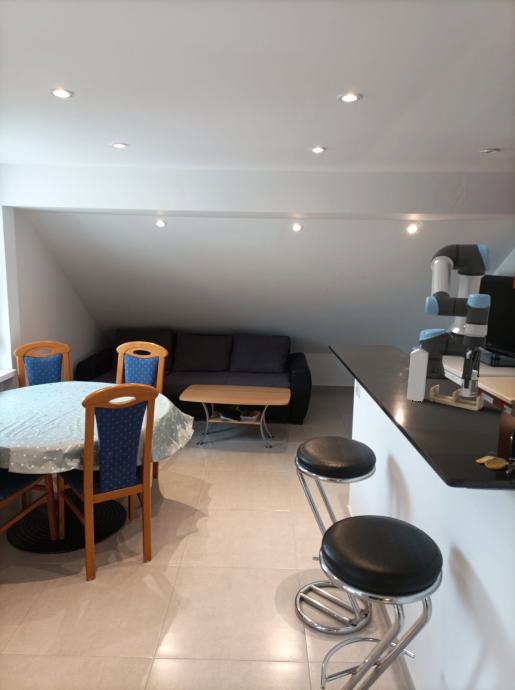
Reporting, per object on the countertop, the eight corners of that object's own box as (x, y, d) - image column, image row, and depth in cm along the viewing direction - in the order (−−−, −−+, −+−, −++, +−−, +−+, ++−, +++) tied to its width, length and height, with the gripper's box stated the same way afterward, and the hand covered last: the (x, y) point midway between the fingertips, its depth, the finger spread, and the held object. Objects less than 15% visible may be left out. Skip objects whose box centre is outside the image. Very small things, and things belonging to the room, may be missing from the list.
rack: (436, 396, 185) (437, 384, 184) (483, 406, 174) (484, 393, 173) (429, 400, 179) (430, 387, 178) (476, 410, 168) (478, 397, 167)
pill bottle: (478, 395, 173) (481, 370, 172) (474, 398, 169) (477, 372, 167) (462, 393, 177) (465, 368, 175) (458, 395, 172) (461, 370, 171)
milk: (406, 400, 179) (410, 345, 176) (408, 396, 185) (413, 343, 181) (422, 402, 177) (427, 347, 173) (424, 398, 182) (429, 344, 178)
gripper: (472, 332, 179) (465, 389, 182) (456, 336, 165) (450, 397, 168) (492, 334, 174) (485, 392, 177) (478, 338, 160) (471, 401, 163)
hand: (468, 394), depth 173 cm, fingers closed on pill bottle, 6 cm apart
